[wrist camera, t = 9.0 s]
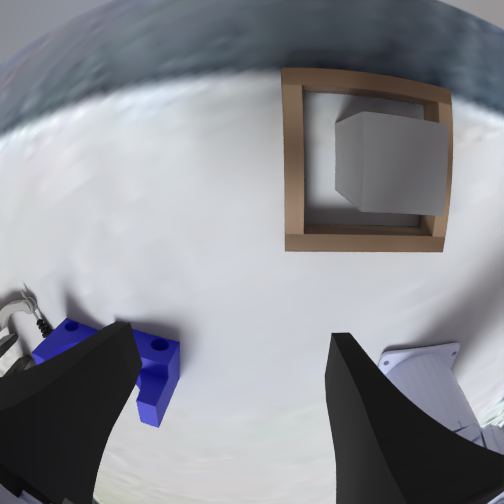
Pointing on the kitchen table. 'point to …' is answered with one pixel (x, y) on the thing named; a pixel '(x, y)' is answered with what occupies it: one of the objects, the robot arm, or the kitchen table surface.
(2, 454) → the robot arm
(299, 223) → the brown square frame
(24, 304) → the bike brake
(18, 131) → the kitchen table surface
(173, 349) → the cable clip
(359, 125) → the grey block
